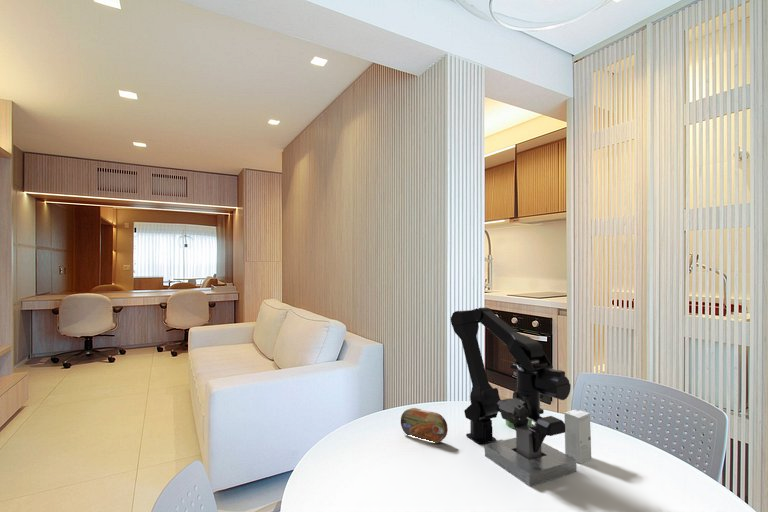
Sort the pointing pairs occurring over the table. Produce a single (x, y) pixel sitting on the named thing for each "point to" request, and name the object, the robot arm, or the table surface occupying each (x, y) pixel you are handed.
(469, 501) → the table surface
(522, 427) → the tall grey square pillar
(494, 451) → the square hole plate
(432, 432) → the tin
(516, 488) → the table surface
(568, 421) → the skincare box
